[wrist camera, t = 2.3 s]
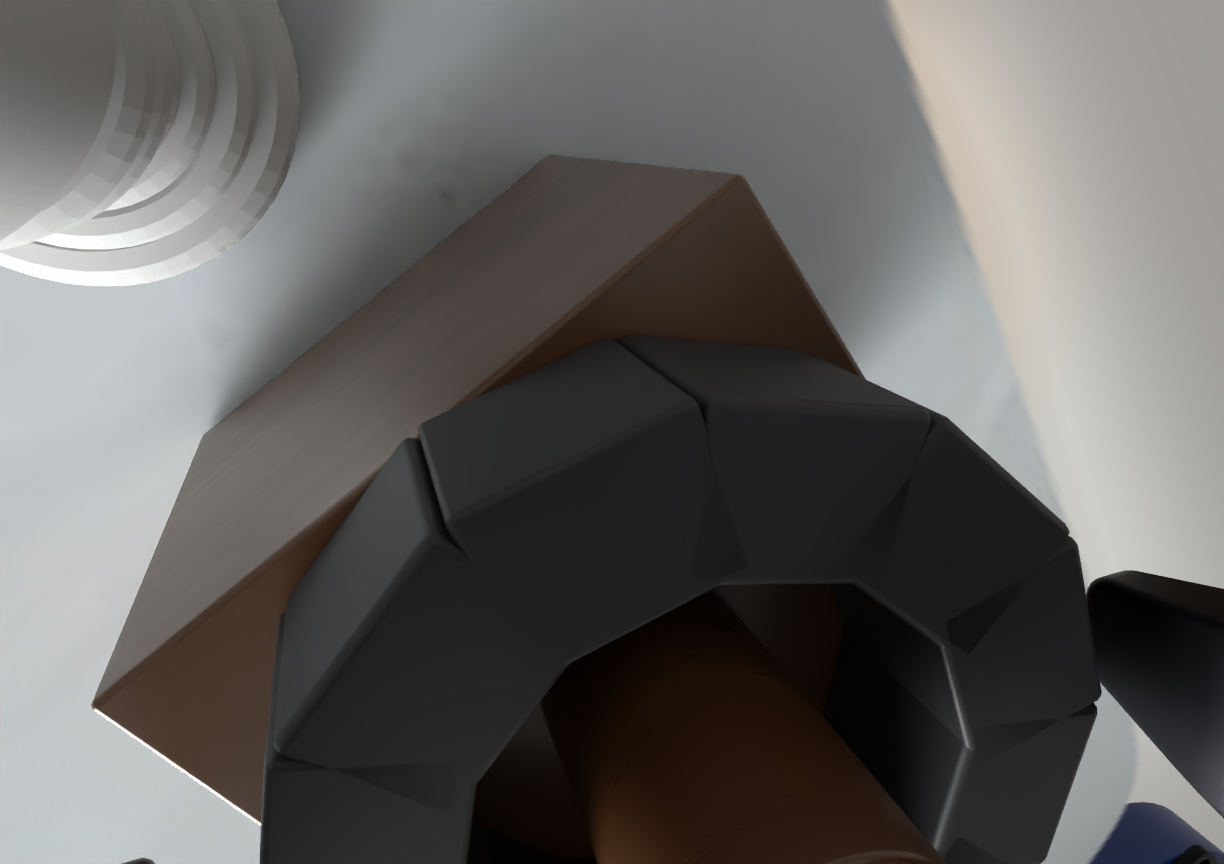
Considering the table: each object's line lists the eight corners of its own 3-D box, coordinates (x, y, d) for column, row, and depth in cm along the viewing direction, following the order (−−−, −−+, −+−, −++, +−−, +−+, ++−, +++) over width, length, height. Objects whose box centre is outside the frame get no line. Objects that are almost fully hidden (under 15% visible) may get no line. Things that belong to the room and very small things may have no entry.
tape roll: (1048, 663, 10) (1200, 776, 9) (581, 1060, 10) (636, 1263, 8) (746, 153, 7) (886, 160, 5) (65, 711, 7) (-27, 913, 5)
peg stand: (768, 460, 17) (1354, 901, 7) (485, 696, 16) (698, 1474, 7) (551, 152, 14) (1063, 202, 4) (200, 436, 13) (-115, 1180, 4)
